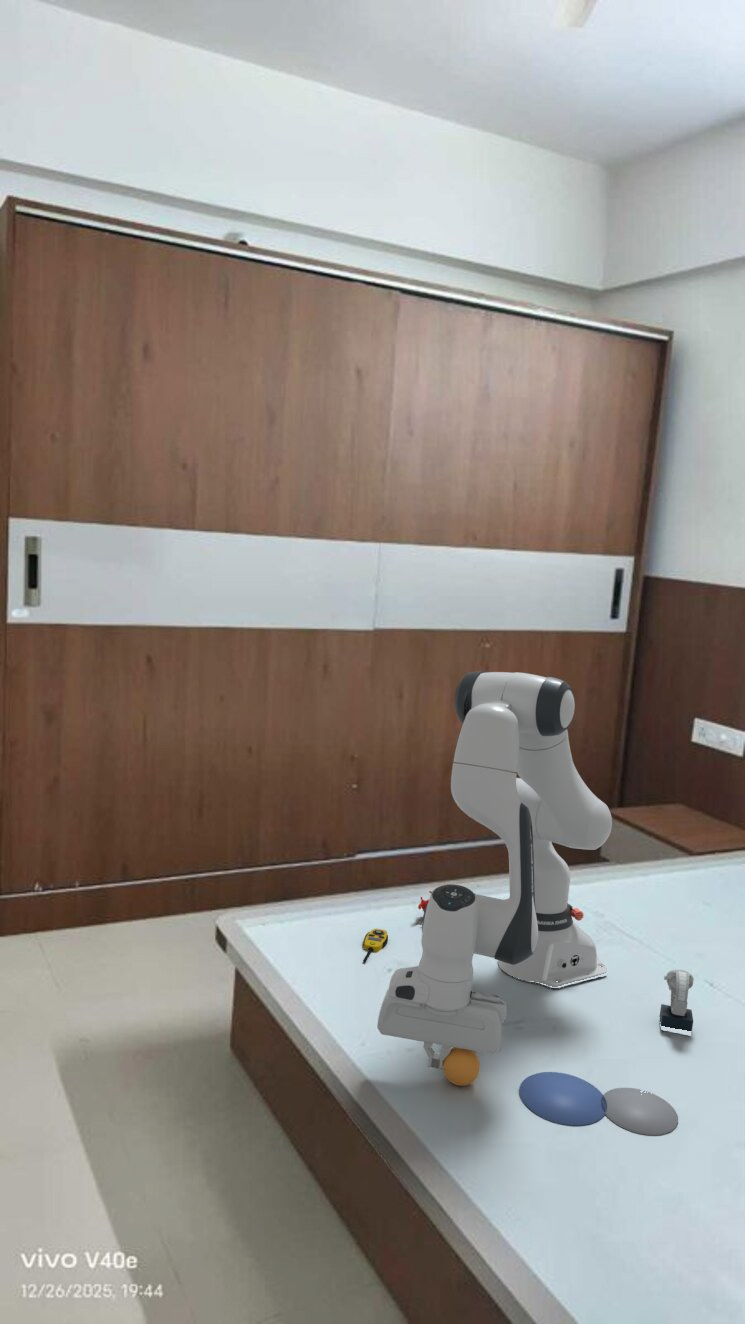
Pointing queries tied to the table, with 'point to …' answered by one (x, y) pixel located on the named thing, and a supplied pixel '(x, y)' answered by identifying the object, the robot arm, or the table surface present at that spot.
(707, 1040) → the table surface
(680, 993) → the grey black upright piece
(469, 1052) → the ball
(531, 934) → the robot arm
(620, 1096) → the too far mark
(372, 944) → the remote control
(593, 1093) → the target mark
